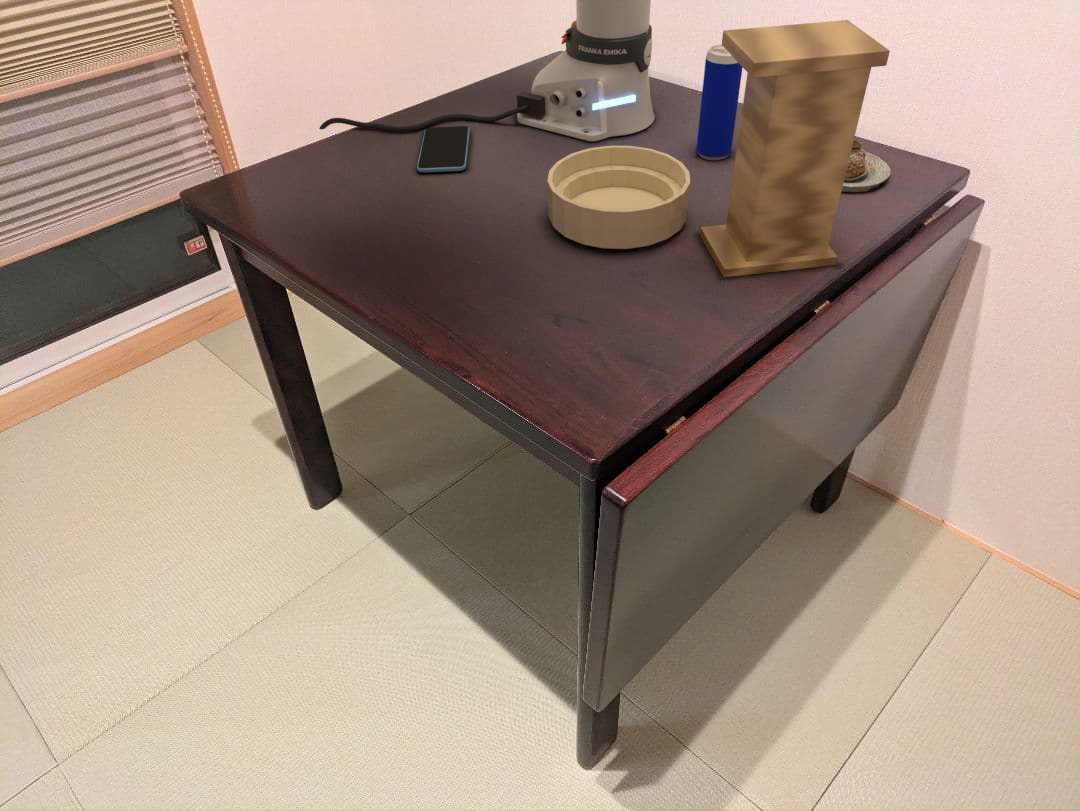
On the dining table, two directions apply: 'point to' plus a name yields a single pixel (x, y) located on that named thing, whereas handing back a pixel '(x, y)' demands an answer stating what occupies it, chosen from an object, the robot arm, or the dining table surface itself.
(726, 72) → the beverage can
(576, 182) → the bowl
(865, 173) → the pastry
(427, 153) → the smartphone
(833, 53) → the wooden column stand
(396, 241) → the dining table surface
